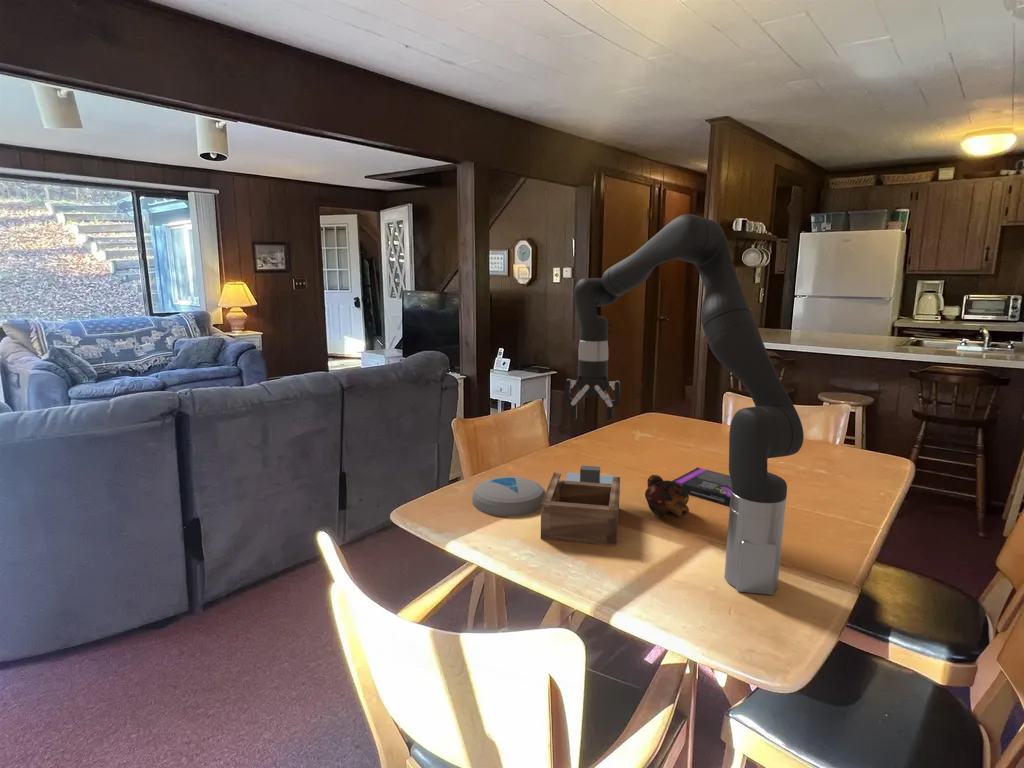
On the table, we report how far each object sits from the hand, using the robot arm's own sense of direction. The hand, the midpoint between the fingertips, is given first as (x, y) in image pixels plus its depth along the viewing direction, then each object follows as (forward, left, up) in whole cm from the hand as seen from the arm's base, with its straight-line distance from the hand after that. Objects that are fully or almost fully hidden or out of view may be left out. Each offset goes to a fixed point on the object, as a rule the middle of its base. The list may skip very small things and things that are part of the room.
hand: (591, 419), depth 152 cm
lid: (0, 0, -19) cm, 19 cm away
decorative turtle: (-13, -19, -19) cm, 30 cm away
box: (+3, -33, -19) cm, 38 cm away
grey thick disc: (-13, +19, -19) cm, 30 cm away
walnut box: (-22, 0, -19) cm, 29 cm away
